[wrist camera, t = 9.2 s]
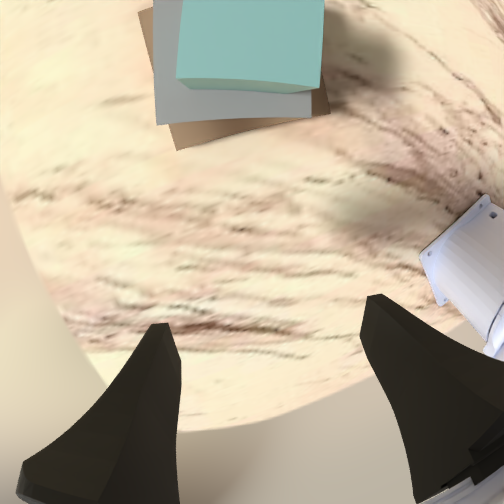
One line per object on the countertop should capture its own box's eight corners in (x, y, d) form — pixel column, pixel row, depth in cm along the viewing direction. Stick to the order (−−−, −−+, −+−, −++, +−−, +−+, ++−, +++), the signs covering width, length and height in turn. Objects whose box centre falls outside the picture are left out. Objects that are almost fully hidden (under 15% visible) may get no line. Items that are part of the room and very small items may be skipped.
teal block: (291, 13, 11) (325, -25, 6) (285, 94, 13) (319, 87, 8) (197, 6, 10) (188, -38, 6) (190, 89, 12) (175, 78, 8)
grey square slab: (296, -2, 12) (306, -14, 10) (299, 116, 15) (311, 118, 13) (161, 2, 11) (153, -11, 9) (164, 123, 15) (156, 125, 13)
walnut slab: (285, -10, 13) (293, -22, 11) (318, 112, 17) (330, 113, 15) (146, 21, 13) (137, 12, 11) (181, 146, 17) (176, 151, 16)
